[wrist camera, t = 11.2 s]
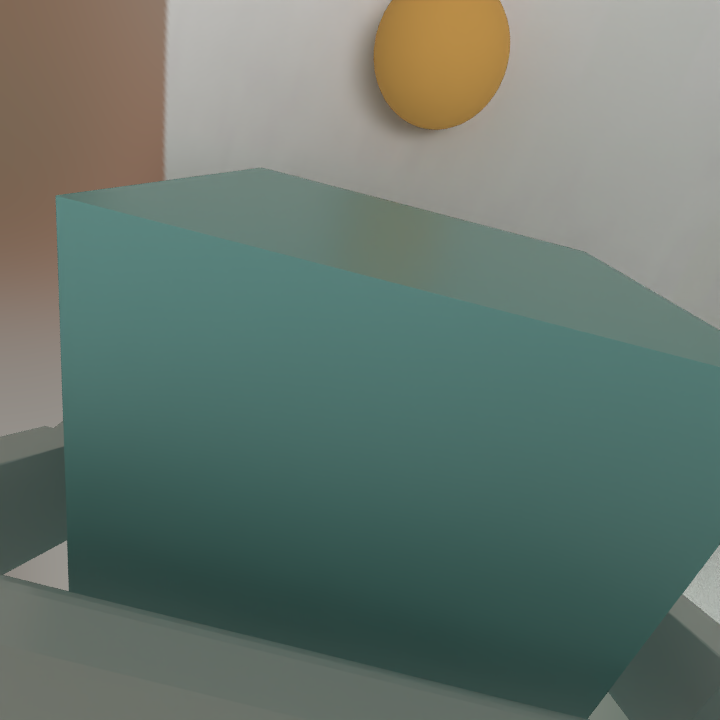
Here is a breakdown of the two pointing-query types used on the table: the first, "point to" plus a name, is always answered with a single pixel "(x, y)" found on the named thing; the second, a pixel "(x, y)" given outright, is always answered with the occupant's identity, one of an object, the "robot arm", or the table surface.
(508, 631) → the teal rectangular box
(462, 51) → the ball
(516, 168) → the table surface
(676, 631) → the robot arm
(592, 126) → the table surface
